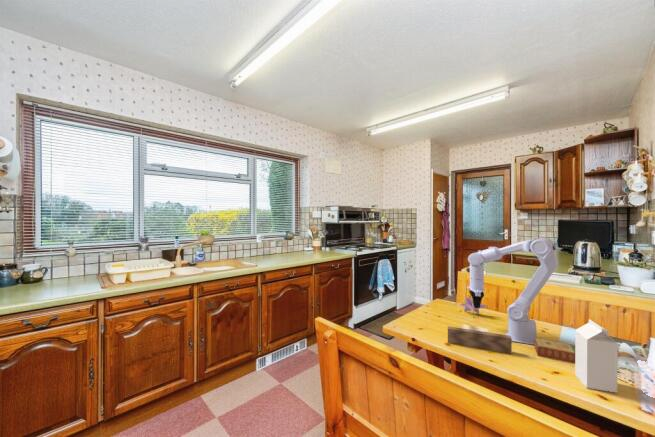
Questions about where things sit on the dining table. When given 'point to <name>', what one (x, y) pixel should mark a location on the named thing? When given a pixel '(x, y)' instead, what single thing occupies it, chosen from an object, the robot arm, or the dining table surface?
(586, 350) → the milk carton
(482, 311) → the dining table surface
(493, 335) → the walnut board
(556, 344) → the carton
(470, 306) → the lily
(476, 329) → the maple block
